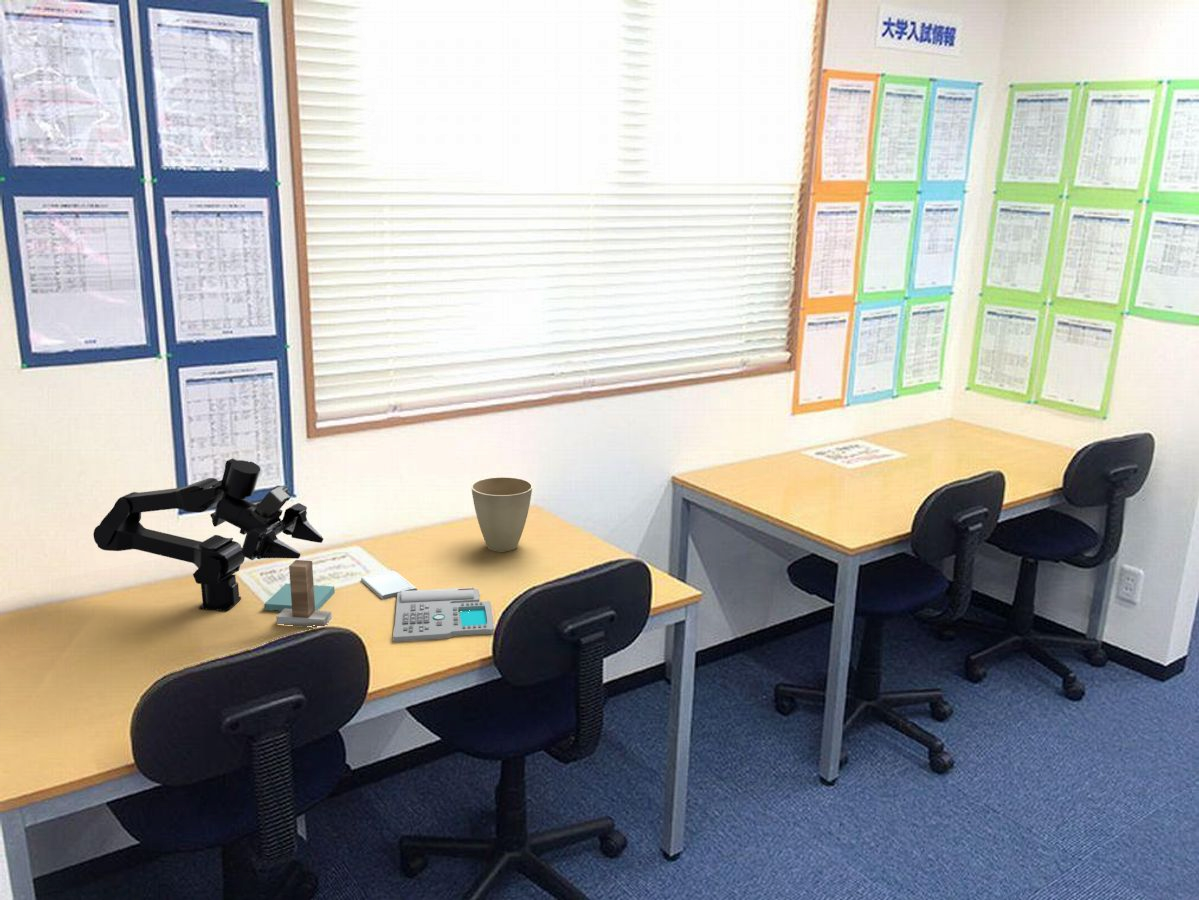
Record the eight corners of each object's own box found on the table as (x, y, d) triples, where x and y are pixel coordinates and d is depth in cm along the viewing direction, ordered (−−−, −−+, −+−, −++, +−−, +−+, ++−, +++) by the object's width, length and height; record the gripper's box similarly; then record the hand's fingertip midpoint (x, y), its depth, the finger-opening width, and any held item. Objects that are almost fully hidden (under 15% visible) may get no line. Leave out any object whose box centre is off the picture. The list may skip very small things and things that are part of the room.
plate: (264, 610, 209) (264, 603, 208) (286, 589, 219) (285, 583, 219) (315, 613, 208) (314, 607, 207) (334, 592, 218) (334, 586, 218)
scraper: (324, 628, 201) (320, 568, 197) (276, 625, 202) (272, 565, 199) (331, 620, 205) (328, 561, 201) (285, 617, 206) (280, 558, 202)
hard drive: (417, 587, 219) (394, 569, 229) (382, 595, 215) (360, 576, 225) (417, 594, 220) (395, 576, 230) (382, 602, 215) (361, 583, 225)
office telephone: (396, 585, 217) (488, 581, 220) (396, 596, 218) (488, 592, 221) (392, 630, 195) (495, 624, 198) (393, 643, 196) (495, 637, 199)
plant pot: (459, 549, 245) (458, 487, 241) (498, 532, 257) (497, 473, 253) (507, 562, 237) (506, 498, 233) (544, 544, 249) (544, 483, 245)
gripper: (228, 494, 193) (298, 529, 191) (280, 469, 210) (344, 500, 208) (214, 543, 196) (282, 577, 195) (266, 513, 214) (329, 545, 212)
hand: (311, 548), depth 202 cm, fingers open, 9 cm apart
